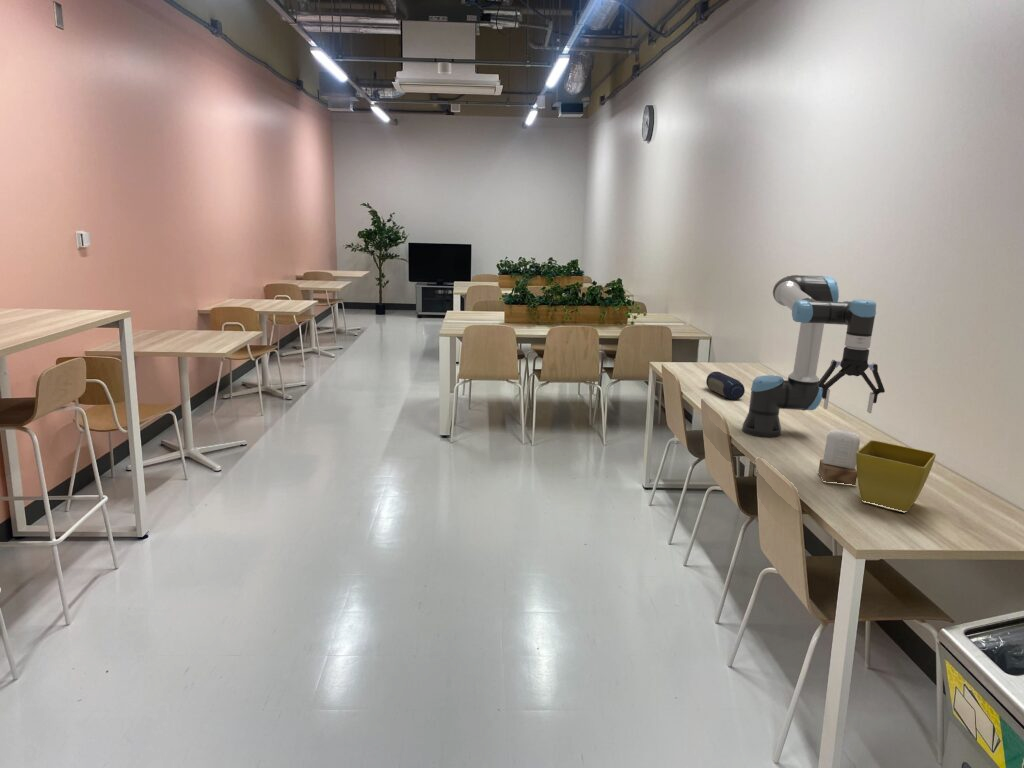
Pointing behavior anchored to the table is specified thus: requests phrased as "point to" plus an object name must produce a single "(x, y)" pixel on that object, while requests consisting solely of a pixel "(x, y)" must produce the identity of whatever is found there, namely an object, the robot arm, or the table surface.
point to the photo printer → (841, 449)
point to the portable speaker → (725, 385)
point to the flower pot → (892, 473)
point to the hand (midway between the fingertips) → (847, 410)
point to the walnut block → (837, 474)
